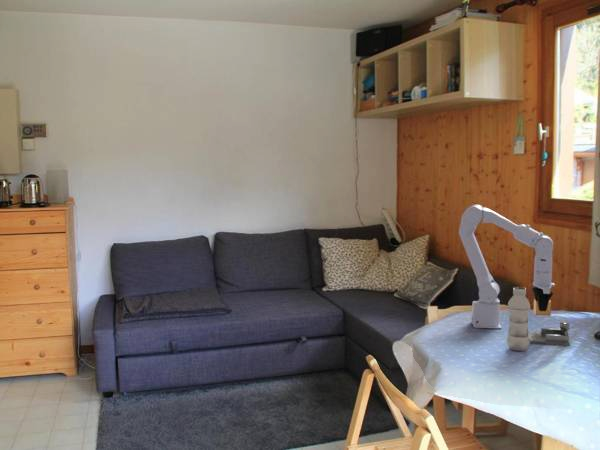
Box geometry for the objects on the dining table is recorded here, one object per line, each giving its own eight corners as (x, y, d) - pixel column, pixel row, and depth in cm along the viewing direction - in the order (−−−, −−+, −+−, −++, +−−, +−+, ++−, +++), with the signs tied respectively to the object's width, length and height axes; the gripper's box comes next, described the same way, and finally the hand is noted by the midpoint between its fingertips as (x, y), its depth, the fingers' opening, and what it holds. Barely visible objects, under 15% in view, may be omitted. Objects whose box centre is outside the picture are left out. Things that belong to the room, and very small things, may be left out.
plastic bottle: (531, 353, 176) (533, 291, 174) (508, 352, 178) (510, 290, 175) (527, 346, 183) (529, 286, 180) (505, 345, 184) (506, 285, 181)
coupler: (530, 343, 186) (530, 326, 185) (524, 333, 196) (525, 317, 195) (572, 345, 183) (573, 327, 183) (564, 335, 193) (565, 318, 192)
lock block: (535, 315, 196) (536, 301, 196) (533, 312, 200) (534, 298, 199) (551, 315, 195) (551, 301, 195) (548, 312, 199) (549, 299, 198)
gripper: (560, 275, 188) (558, 315, 190) (550, 266, 202) (548, 304, 204) (537, 275, 189) (536, 314, 191) (529, 266, 203) (528, 303, 205)
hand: (541, 309), depth 197 cm, fingers closed on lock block, 4 cm apart
